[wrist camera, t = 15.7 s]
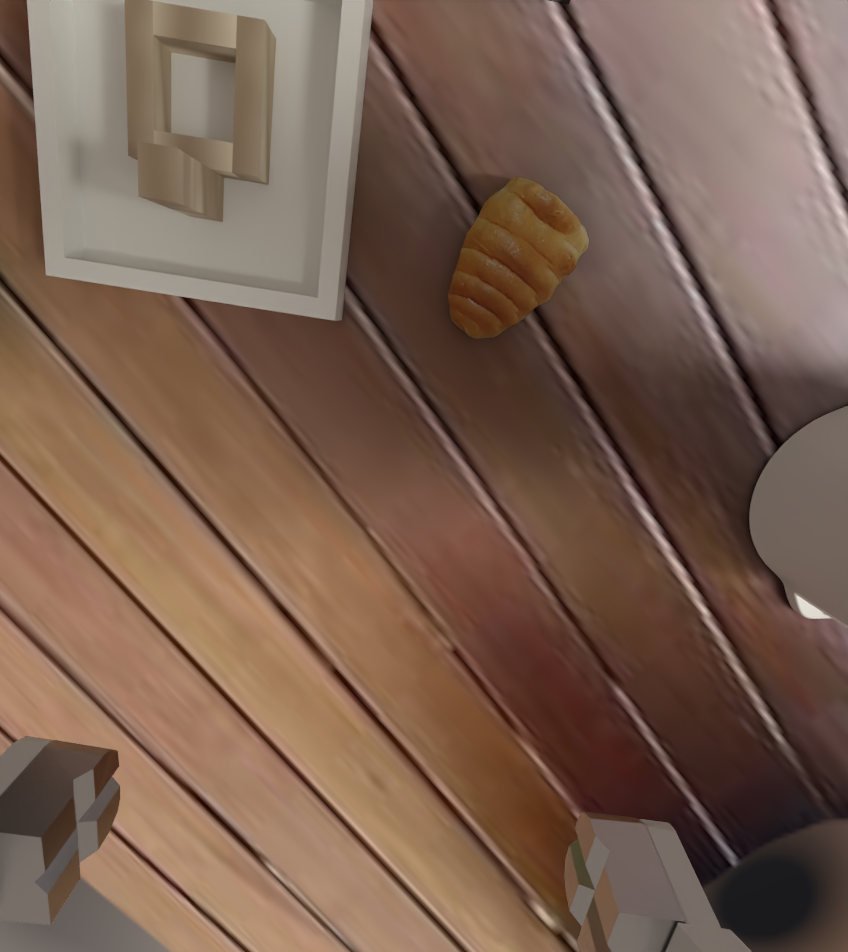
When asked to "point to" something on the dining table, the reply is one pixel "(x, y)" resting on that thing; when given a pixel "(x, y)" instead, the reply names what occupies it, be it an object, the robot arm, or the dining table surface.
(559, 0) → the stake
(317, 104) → the tray
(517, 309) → the pastry
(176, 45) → the ring
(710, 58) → the dining table surface
